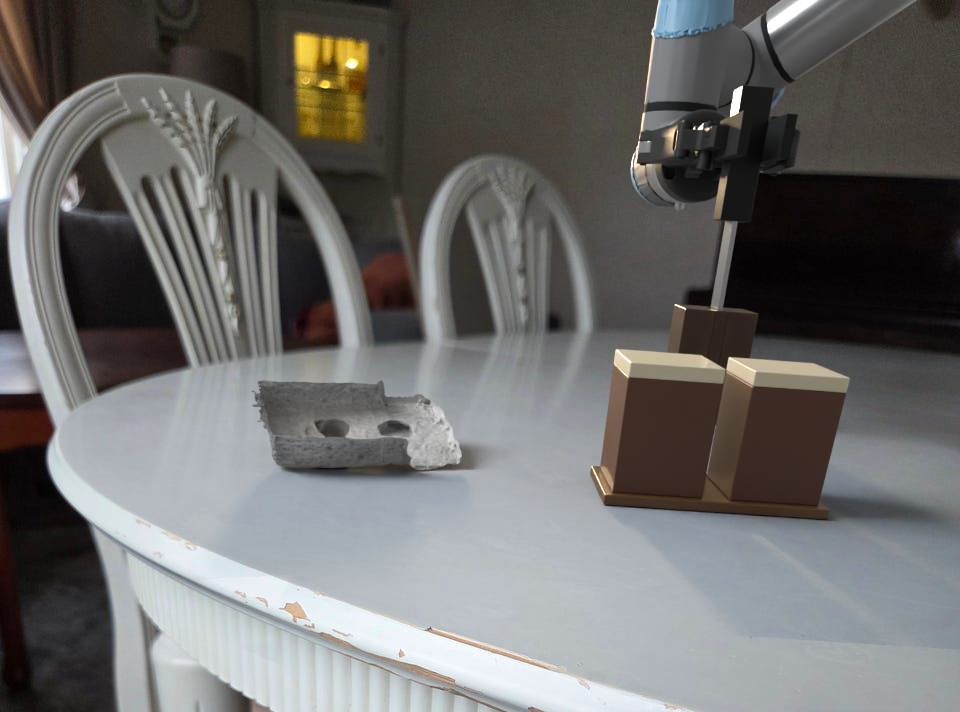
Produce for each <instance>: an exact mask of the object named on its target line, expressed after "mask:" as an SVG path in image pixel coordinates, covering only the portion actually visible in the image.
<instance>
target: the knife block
mask: <svg viewBox="0 0 960 712" xmlns="http://www.w3.org/2000/svg"><path fill="white" fill-rule="evenodd" d="M758 318H759V313H757V312H754V311H751V310H748V309H745V308H733V307H723V309H722V310H712V309H711V306H707V305H695V304H694V305H693V304H681V303H675V304H674V306H673V312H672V319H671V325H670V330H669V337H668V344H667V351H666V353H678V354H692V355H702V356H703V357H705V358H707V359H709V360H710V361H712V362H714V363H716V364H717V365H719V366H721V367H722V368H724V369H727V364H728V358H729V357H734V358H748V359H751V354H752V349H753V344H754V341H755V340H754V339H755V334H756V329H757V324H758ZM726 372H727V370H726V371H725V375H726ZM724 380H725V377H724ZM723 386H724V382H723ZM722 391H723V388H722ZM721 397H722V393H721ZM720 402H721V398H720ZM719 407H720V404H719ZM718 413H719V409H718ZM717 418H718V414H717ZM716 423H717V420H716Z"/></svg>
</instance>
